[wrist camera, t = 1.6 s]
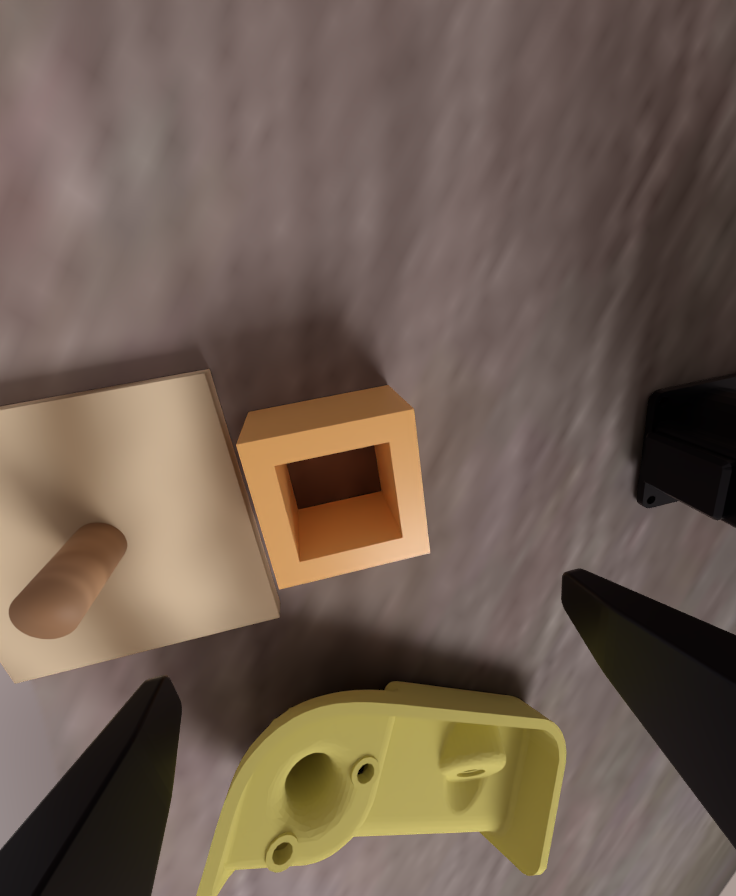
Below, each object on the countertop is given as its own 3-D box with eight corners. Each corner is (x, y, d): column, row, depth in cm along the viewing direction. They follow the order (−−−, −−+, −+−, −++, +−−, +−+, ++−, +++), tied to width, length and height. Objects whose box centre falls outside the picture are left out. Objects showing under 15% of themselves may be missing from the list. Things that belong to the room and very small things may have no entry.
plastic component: (573, 721, 25) (539, 907, 23) (490, 667, 31) (459, 807, 30) (259, 689, 17) (175, 959, 16) (239, 626, 24) (179, 810, 22)
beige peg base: (209, 368, 16) (175, 398, 11) (280, 602, 20) (276, 692, 16) (-128, 429, 14) (-322, 491, 10) (28, 665, 19) (-57, 783, 14)
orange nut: (387, 385, 17) (414, 408, 14) (404, 504, 20) (430, 552, 16) (248, 411, 17) (236, 444, 13) (281, 532, 19) (279, 589, 15)
